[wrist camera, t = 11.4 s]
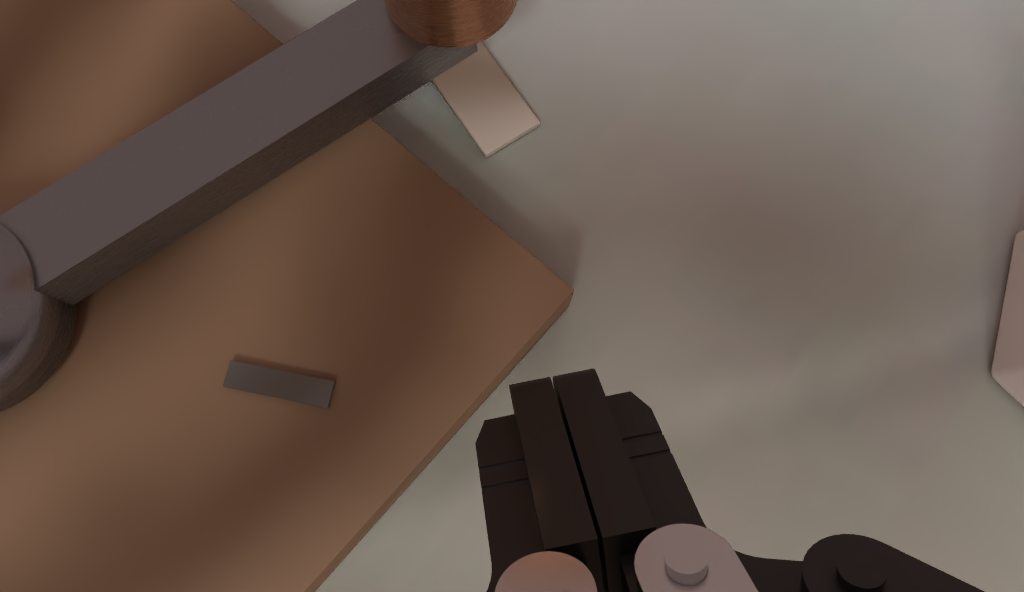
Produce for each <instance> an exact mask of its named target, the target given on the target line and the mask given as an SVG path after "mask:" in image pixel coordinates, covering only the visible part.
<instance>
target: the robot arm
mask: <svg viewBox="0 0 1024 592" xmlns="http://www.w3.org/2000/svg"><path fill="white" fill-rule="evenodd" d="M553 385H554V388H553ZM553 385H552V381H551V378H550V377H547V378H542V379H537V380H532V381H527V382H522V383H517V384H512V385H509V387H510V393H511V398H512V404H513V409H514V415H509V416H504V417H499V418H494V419H489V420H485V421H484V424H483V426H482V429H481V431H480V434H479V436H478V439H477V441H476V451H477V458H478V466H479V473H480V481H481V488H482V495H483V503H484V510H485V518H486V525H487V533H488V540H489V547H490V555H491V562H492V576H491V581H490V584H489V588H488V590H487V592H984V591H982V590H980V589H978V588H976V587H974V586H972V585H970V584H967V583H965V582H963V581H961V580H959V579H957V578H955V577H953V576H951V575H949V574H947V573H945V572H943V571H941V570H938V569H936V568H934V567H932V566H930V565H928V564H926V563H924V562H922V561H920V560H918V559H916V558H914V557H911V556H909V555H907V554H905V553H903V552H901V551H899V550H897V549H895V548H893V547H891V546H889V545H887V544H885V543H882V542H880V541H878V540H875V539H872V538H869V537H865V536H861V535H854V534H840V535H833V536H829V537H826V538H824V539H822V540H819V541H818V542H817V543H815V544H814V545H813V546H812V547H811V548H810V549H809V550H808V551H807V553H806V555H805V557H804V560H803V561H791V560H778V559H766V558H758V557H753V556H749V555H745V554H742V553H740V552H737V551H735V550H733V548H732V547H731V545H730V544H729V543H728V542H727V541H726V540H725V539H724V538H723V537H721V536H720V535H719V534H717V533H715V532H714V531H712V530H710V529H707V528H706V526H705V524H704V523H703V521H702V519H701V516H700V514H699V512H698V510H697V508H696V505H695V503H694V501H693V499H692V497H691V495H690V492H689V490H688V488H687V486H686V484H685V481H684V479H683V477H682V475H681V473H680V470H679V468H678V466H677V464H676V462H675V459H674V457H673V455H672V454H671V453H670V449H669V446H668V444H667V442H666V440H665V438H664V435H662V432H661V429H660V427H659V424H658V422H657V420H656V418H655V416H654V414H653V411H652V409H651V408H650V407H649V406H648V405H646V404H645V403H644V402H643V401H641V400H640V399H639V398H638V397H637V396H635V395H634V394H633V393H632V392H625V393H620V394H615V395H610V396H605V394H604V391H603V388H602V386H601V383H600V381H599V378H598V375H597V373H596V371H595V369H588V370H583V371H578V372H573V373H568V374H563V375H558V376H553Z"/></svg>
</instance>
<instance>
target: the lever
mask: <svg viewBox="0 0 1024 592" xmlns="http://www.w3.org/2000/svg"><path fill="white" fill-rule="evenodd" d="M516 3H517V0H357V1H355V2H354V3H352V4H350V5H349V6H347V7H345V8H344V9H342V10H340V11H339V12H337V13H335V14H334V15H332V16H330V17H329V18H327V19H325V20H324V21H322V22H320V23H319V24H317V25H315V26H314V27H312V28H310V29H309V30H307V31H305V32H304V33H302V34H300V35H299V36H297V37H295V38H294V39H292V40H290V41H289V42H287V43H285V44H284V45H282V46H281V47H279V48H277V49H276V50H274V51H272V52H271V53H269V54H267V55H266V56H264V57H262V58H261V59H259V60H257V61H256V62H254V63H252V64H251V65H249V66H247V67H246V68H244V69H242V70H241V71H239V72H237V73H236V74H234V75H232V76H231V77H229V78H227V79H226V80H224V81H222V82H221V83H219V84H217V85H216V86H214V87H212V88H211V89H209V90H207V91H206V92H204V93H202V94H201V95H199V96H198V97H196V98H194V99H193V100H191V101H189V102H188V103H186V104H184V105H183V106H181V107H179V108H178V109H176V110H174V111H173V112H171V113H169V114H168V115H166V116H164V117H163V118H161V119H159V120H158V121H156V122H154V123H153V124H151V125H149V126H148V127H146V128H144V129H143V130H141V131H139V132H138V133H136V134H134V135H133V136H131V137H129V138H128V139H126V140H124V141H123V142H121V143H119V144H118V145H116V146H115V147H113V148H111V149H110V150H108V151H106V152H105V153H103V154H101V155H100V156H98V157H96V158H95V159H93V160H91V161H90V162H88V163H86V164H85V165H83V166H81V167H80V168H78V169H76V170H75V171H73V172H71V173H70V174H68V175H66V176H65V177H63V178H61V179H60V180H58V181H56V182H55V183H53V184H51V185H50V186H48V187H46V188H45V189H43V190H41V191H40V192H38V193H37V194H35V195H33V196H32V197H30V198H28V199H27V200H25V201H23V202H22V203H20V204H18V205H17V206H15V207H13V208H12V209H10V210H8V211H7V212H5V213H3V214H2V215H0V412H1V411H4V410H6V409H9V408H11V407H13V406H15V405H17V404H18V403H20V402H22V401H24V400H25V399H27V398H28V397H29V396H31V395H32V394H33V393H35V392H36V391H37V390H38V389H39V388H40V387H42V386H43V385H44V384H45V383H46V382H47V381H48V379H49V378H50V377H51V376H52V375H53V374H54V373H55V371H56V370H57V368H58V367H59V365H60V364H61V362H62V361H63V359H64V357H65V355H66V353H67V351H68V349H69V347H70V344H71V341H72V339H73V335H74V331H75V327H76V321H77V302H79V301H81V300H82V299H84V298H85V297H87V296H89V295H90V294H92V293H93V292H95V291H96V290H98V289H100V288H101V287H103V286H104V285H106V284H108V283H109V282H111V281H112V280H114V279H116V278H117V277H119V276H120V275H122V274H124V273H125V272H127V271H128V270H130V269H131V268H133V267H135V266H136V265H138V264H139V263H141V262H143V261H144V260H146V259H147V258H149V257H151V256H152V255H154V254H155V253H157V252H159V251H160V250H162V249H163V248H165V247H166V246H168V245H170V244H171V243H173V242H174V241H176V240H178V239H179V238H181V237H182V236H184V235H186V234H187V233H189V232H190V231H192V230H194V229H195V228H197V227H198V226H200V225H201V224H203V223H205V222H206V221H208V220H209V219H211V218H213V217H214V216H216V215H217V214H219V213H221V212H222V211H224V210H225V209H227V208H229V207H230V206H232V205H233V204H235V203H237V202H238V201H240V200H241V199H243V198H244V197H246V196H248V195H249V194H251V193H252V192H254V191H256V190H257V189H259V188H260V187H262V186H264V185H265V184H267V183H268V182H270V181H272V180H273V179H275V178H276V177H278V176H279V175H281V174H283V173H284V172H286V171H287V170H289V169H291V168H292V167H294V166H295V165H297V164H299V163H300V162H302V161H303V160H305V159H307V158H308V157H310V156H311V155H313V154H314V153H316V152H318V151H319V150H321V149H322V148H324V147H326V146H327V145H329V144H330V143H332V142H334V141H335V140H337V139H338V138H340V137H342V136H343V135H345V134H346V133H348V132H349V131H351V130H353V129H354V128H356V127H357V126H359V125H361V124H362V123H364V122H365V121H367V120H369V119H370V118H372V117H373V116H375V115H377V114H378V113H380V112H381V111H383V110H384V109H386V108H388V107H389V106H391V105H392V104H394V103H396V102H397V101H399V100H400V99H402V98H404V97H405V96H407V95H408V94H410V93H412V92H413V91H415V90H416V89H418V88H419V87H421V86H423V85H424V84H426V83H427V82H429V81H431V80H432V79H434V78H435V77H437V76H439V75H440V74H442V73H443V72H445V71H447V70H448V69H450V68H451V67H453V66H455V65H456V64H458V63H459V62H461V61H462V60H464V59H466V58H467V57H469V56H470V55H472V54H474V53H475V52H477V51H478V50H477V43H478V42H481V41H483V40H485V39H487V38H488V37H490V36H492V35H493V34H494V33H496V32H497V31H498V30H499V29H500V28H501V27H502V26H503V25H504V24H505V23H506V22H507V21H508V19H509V18H510V16H511V14H512V13H513V11H514V8H515V6H516Z"/></svg>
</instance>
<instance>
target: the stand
mask: <svg viewBox="0 0 1024 592" xmlns="http://www.w3.org/2000/svg"><path fill="white" fill-rule="evenodd" d="M282 45H283V44H282V43H281V42H280V41H278V40H277V39H276V38H275V37H274V36H272V35H271V34H270V33H269V32H268V31H267V30H265V29H264V28H263V27H262V26H261V25H259V24H258V23H257V22H256V21H255V20H254V19H252V18H251V17H250V16H249V15H248V14H246V13H245V12H244V11H243V10H242V9H241V8H239V7H238V6H237V5H236V4H235V3H233V2H232V1H231V0H0V215H2V214H3V213H5V212H7V211H8V210H10V209H12V208H13V207H15V206H17V205H18V204H20V203H22V202H23V201H25V200H27V199H28V198H30V197H32V196H33V195H35V194H37V193H38V192H40V191H41V190H43V189H45V188H46V187H48V186H50V185H51V184H53V183H55V182H56V181H58V180H60V179H61V178H63V177H65V176H66V175H68V174H70V173H71V172H73V171H75V170H76V169H78V168H80V167H81V166H83V165H85V164H86V163H88V162H90V161H91V160H93V159H95V158H96V157H98V156H100V155H101V154H103V153H105V152H106V151H108V150H110V149H111V148H113V147H115V146H116V145H118V144H119V143H121V142H123V141H124V140H126V139H128V138H129V137H131V136H133V135H134V134H136V133H138V132H139V131H141V130H143V129H144V128H146V127H148V126H149V125H151V124H153V123H154V122H156V121H158V120H159V119H161V118H163V117H164V116H166V115H168V114H169V113H171V112H173V111H174V110H176V109H178V108H179V107H181V106H183V105H184V104H186V103H188V102H189V101H191V100H193V99H194V98H196V97H198V96H199V95H201V94H202V93H204V92H206V91H207V90H209V89H211V88H212V87H214V86H216V85H217V84H219V83H221V82H222V81H224V80H226V79H227V78H229V77H231V76H232V75H234V74H236V73H237V72H239V71H241V70H242V69H244V68H246V67H247V66H249V65H251V64H252V63H254V62H256V61H257V60H259V59H261V58H262V57H264V56H266V55H267V54H269V53H271V52H272V51H274V50H276V49H277V48H279V47H281V46H282ZM477 50H478V51H477V52H475V53H474V54H472V55H470V56H469V57H467V58H466V59H464V60H462V61H461V62H459V63H458V64H456V65H455V66H453V67H451V68H450V69H448V70H447V71H445V72H443V73H442V74H440V75H439V76H437V77H435V78H434V79H432V82H433V83H434V85H435V86H436V88H437V89H438V90H439V92H440V93H441V95H442V96H443V98H444V99H445V100H446V102H447V103H448V105H449V106H450V107H451V109H452V110H453V112H454V113H455V115H456V116H457V117H458V119H459V120H460V122H461V123H462V125H463V126H464V127H465V129H466V130H467V132H468V133H469V135H470V136H471V137H472V139H473V140H474V142H475V143H476V145H477V146H478V147H479V149H480V150H481V152H482V153H483V154H484V156H485V157H486V158H487V157H489V156H491V155H492V154H494V153H496V152H497V151H499V150H500V149H502V148H504V147H505V146H507V145H509V144H510V143H512V142H514V141H515V140H517V139H518V138H520V137H522V136H523V135H525V134H527V133H528V132H530V131H531V130H533V129H535V128H536V127H538V126H540V122H539V120H538V119H537V118H536V116H535V115H534V113H533V112H532V111H531V109H530V108H529V107H528V105H527V104H526V102H525V101H524V100H523V98H522V97H521V96H520V94H519V93H518V92H517V90H516V89H515V87H514V86H513V85H512V83H511V82H510V81H509V79H508V78H507V76H506V75H505V74H504V72H503V71H502V70H501V68H500V67H499V65H498V64H497V63H496V61H495V60H494V59H493V57H492V56H491V55H490V53H489V52H488V50H487V49H486V48H485V46H484V45H483V44H482V42H478V43H477ZM573 291H574V290H573V289H572V288H571V287H570V286H568V285H567V284H566V283H565V282H564V281H563V280H561V279H560V278H559V277H558V276H557V275H555V274H554V273H553V272H552V271H551V270H550V269H548V268H547V267H546V266H545V265H544V264H542V263H541V262H540V261H539V260H538V259H536V258H535V257H534V256H533V255H532V254H531V253H529V252H528V251H527V250H526V249H525V248H523V247H522V246H521V245H520V244H519V243H518V242H516V241H515V240H514V239H513V238H512V237H510V236H509V235H508V234H507V233H506V232H505V231H503V230H502V229H501V228H500V227H499V226H497V225H496V224H495V223H494V222H493V221H492V220H490V219H489V218H488V217H487V216H486V215H484V214H483V213H482V212H481V211H480V210H478V209H477V208H476V207H475V206H474V205H473V204H471V203H470V202H469V201H468V200H467V199H465V198H464V197H463V196H462V195H461V194H460V193H458V192H457V191H456V190H455V189H454V188H452V187H451V186H450V185H449V184H448V183H447V182H445V181H444V180H443V179H442V178H441V177H439V176H438V175H437V174H436V173H435V172H433V171H432V170H431V169H430V168H429V167H428V166H426V165H425V164H424V163H423V162H422V161H420V160H419V159H418V158H417V157H416V156H415V155H413V154H412V153H411V152H410V151H409V150H407V149H406V148H405V147H404V146H403V145H402V144H400V143H399V142H398V141H397V140H396V139H394V138H393V137H392V136H391V135H390V134H389V133H387V132H386V131H385V130H384V129H383V128H381V127H380V126H379V125H378V124H377V123H375V122H374V121H373V120H372V119H371V118H370V119H369V120H367V121H365V122H364V123H362V124H361V125H359V126H357V127H356V128H354V129H353V130H351V131H349V132H348V133H346V134H345V135H343V136H342V137H340V138H338V139H337V140H335V141H334V142H332V143H330V144H329V145H327V146H326V147H324V148H322V149H321V150H319V151H318V152H316V153H314V154H313V155H311V156H310V157H308V158H307V159H305V160H303V161H302V162H300V163H299V164H297V165H295V166H294V167H292V168H291V169H289V170H287V171H286V172H284V173H283V174H281V175H279V176H278V177H276V178H275V179H273V180H272V181H270V182H268V183H267V184H265V185H264V186H262V187H260V188H259V189H257V190H256V191H254V192H252V193H251V194H249V195H248V196H246V197H244V198H243V199H241V200H240V201H238V202H237V203H235V204H233V205H232V206H230V207H229V208H227V209H225V210H224V211H222V212H221V213H219V214H217V215H216V216H214V217H213V218H211V219H209V220H208V221H206V222H205V223H203V224H201V225H200V226H198V227H197V228H195V229H194V230H192V231H190V232H189V233H187V234H186V235H184V236H182V237H181V238H179V239H178V240H176V241H174V242H173V243H171V244H170V245H168V246H166V247H165V248H163V249H162V250H160V251H159V252H157V253H155V254H154V255H152V256H151V257H149V258H147V259H146V260H144V261H143V262H141V263H139V264H138V265H136V266H135V267H133V268H131V269H130V270H128V271H127V272H125V273H124V274H122V275H120V276H119V277H117V278H116V279H114V280H112V281H111V282H109V283H108V284H106V285H104V286H103V287H101V288H100V289H98V290H96V291H95V292H93V293H92V294H90V295H89V296H87V297H85V298H84V299H82V300H81V301H79V302H77V321H76V327H75V331H74V335H73V339H72V341H71V344H70V347H69V349H68V351H67V353H66V355H65V357H64V359H63V361H62V362H61V364H60V365H59V367H58V368H57V370H56V371H55V373H54V374H53V375H52V376H51V377H50V378H49V379H48V381H47V382H46V383H45V384H44V385H43V386H42V387H40V388H39V389H38V390H37V391H36V392H35V393H33V394H32V395H31V396H29V397H28V398H27V399H25V400H24V401H22V402H20V403H18V404H17V405H15V406H13V407H11V408H9V409H6V410H4V411H1V412H0V592H315V591H316V590H317V589H318V587H319V586H320V585H321V584H322V583H323V582H324V581H325V580H326V578H327V577H328V576H329V575H330V574H331V573H332V572H333V571H334V569H335V568H336V567H337V566H338V565H339V564H340V563H341V562H342V560H343V559H344V558H345V557H346V556H347V555H348V554H349V553H350V552H351V550H352V549H353V548H354V547H355V546H356V545H357V544H358V543H359V541H360V540H361V539H362V538H363V537H364V536H365V535H366V534H367V532H368V531H369V530H370V529H371V528H372V527H373V526H374V525H375V523H376V522H377V521H378V520H379V519H380V518H381V517H382V516H383V514H384V513H385V512H386V511H387V510H388V509H389V508H390V507H391V505H392V504H393V503H394V502H395V501H396V500H397V499H398V498H399V496H400V495H401V494H402V493H403V492H404V491H405V490H406V489H407V487H408V486H409V485H410V484H411V483H412V482H413V481H414V480H415V479H416V477H417V476H418V475H419V474H420V473H421V472H422V471H423V470H424V468H425V467H426V466H427V465H428V464H429V463H430V462H431V461H432V459H433V458H434V457H435V456H436V455H437V454H438V453H439V452H440V450H441V449H442V448H443V447H444V446H445V445H446V444H447V443H448V441H449V440H450V439H451V438H452V437H453V436H454V435H455V434H456V432H457V431H458V430H459V429H460V428H461V427H462V426H463V425H464V423H465V422H466V421H467V420H468V419H469V418H470V417H471V416H472V415H473V413H474V412H475V411H476V410H477V409H478V408H479V407H480V406H481V404H482V403H483V402H484V401H485V400H486V399H487V398H488V397H489V395H490V394H491V393H492V392H493V391H494V390H495V389H496V388H497V386H498V385H499V384H500V383H501V382H502V381H503V380H504V379H505V377H506V376H507V375H508V374H509V373H510V372H511V371H512V370H513V368H514V367H515V366H516V365H517V364H518V363H519V362H520V361H521V359H522V358H523V357H524V356H525V355H526V354H527V353H528V352H529V350H530V349H531V348H532V347H533V346H534V345H535V344H536V343H537V342H538V340H539V339H540V338H541V337H542V336H543V335H544V334H545V333H546V331H547V330H548V329H549V328H550V327H551V326H552V325H553V324H554V322H555V321H556V320H557V319H558V318H559V317H560V316H561V315H562V313H563V312H564V311H565V310H566V309H567V308H568V307H569V304H570V301H571V298H572V294H573Z"/></svg>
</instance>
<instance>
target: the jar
mask: <svg viewBox="0 0 1024 592" xmlns="http://www.w3.org/2000/svg"><path fill="white" fill-rule="evenodd" d="M991 374H992V377H993V378H994V380H995V381H996V382H997V383H998V384H999V385H1001V386H1002V387H1003V388H1004V389H1005V390H1006V391H1007V392H1008V393H1009V394H1010V395H1011V396H1012V397H1013V398H1014V399H1015V400H1016V401H1017V402H1019V403H1020V404H1021V405H1022V406H1023V407H1024V229H1023V230H1021V231H1020V232H1018V233H1017V235H1016V237H1015V240H1014V246H1013V251H1012V257H1011V263H1010V268H1009V274H1008V280H1007V285H1006V291H1005V296H1004V302H1003V308H1002V313H1001V319H1000V324H999V330H998V336H997V341H996V347H995V352H994V358H993V363H992V369H991Z"/></svg>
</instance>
